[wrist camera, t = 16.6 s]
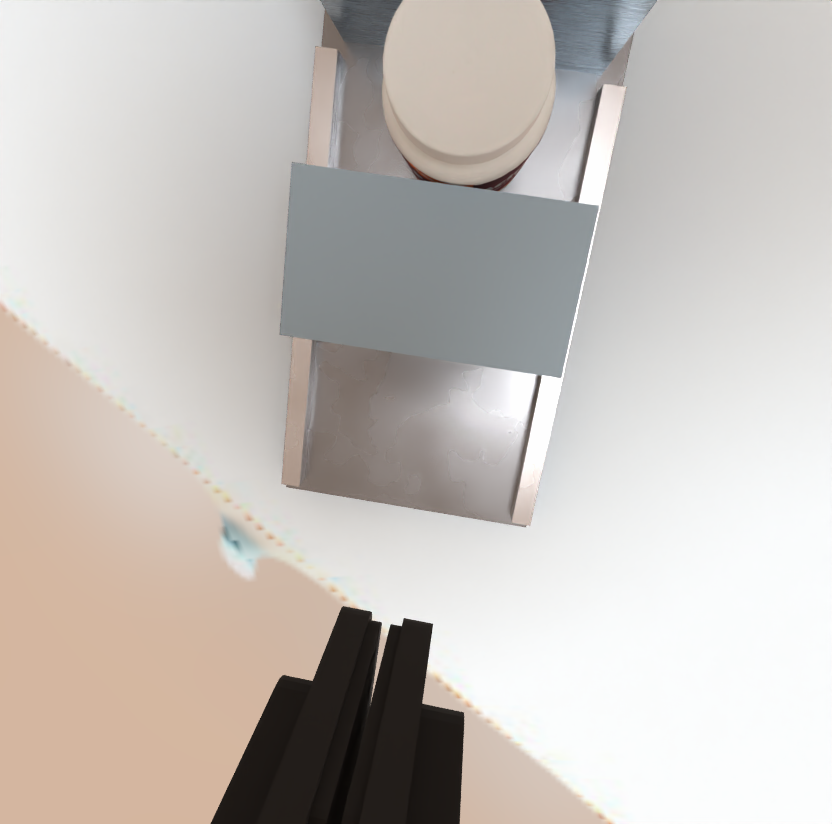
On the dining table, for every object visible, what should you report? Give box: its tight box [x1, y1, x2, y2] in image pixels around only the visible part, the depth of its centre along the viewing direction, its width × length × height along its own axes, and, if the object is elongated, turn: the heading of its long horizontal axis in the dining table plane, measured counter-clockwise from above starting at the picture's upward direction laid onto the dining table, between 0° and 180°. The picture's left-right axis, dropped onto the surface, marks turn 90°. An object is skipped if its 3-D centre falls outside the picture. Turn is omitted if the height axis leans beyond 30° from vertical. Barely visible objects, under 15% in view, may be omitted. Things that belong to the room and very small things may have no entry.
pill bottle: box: [382, 0, 556, 191], centre depth 17 cm, size 5×5×8 cm
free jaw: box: [280, 162, 599, 378], centre depth 19 cm, size 5×9×6 cm, turn 82°
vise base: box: [282, 0, 657, 527], centre depth 20 cm, size 22×11×7 cm, turn 172°
